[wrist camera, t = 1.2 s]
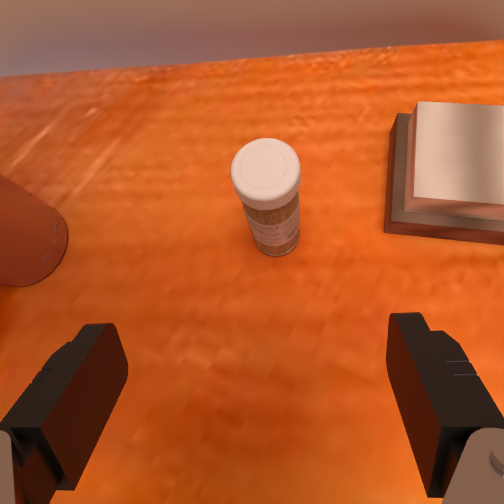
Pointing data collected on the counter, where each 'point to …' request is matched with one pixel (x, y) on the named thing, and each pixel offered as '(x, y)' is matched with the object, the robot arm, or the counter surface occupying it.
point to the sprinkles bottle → (269, 193)
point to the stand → (447, 173)
